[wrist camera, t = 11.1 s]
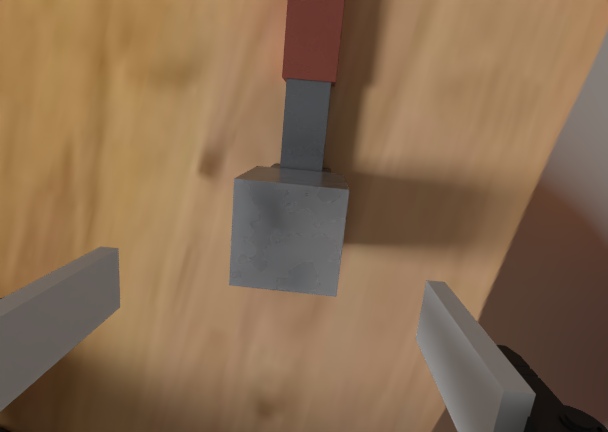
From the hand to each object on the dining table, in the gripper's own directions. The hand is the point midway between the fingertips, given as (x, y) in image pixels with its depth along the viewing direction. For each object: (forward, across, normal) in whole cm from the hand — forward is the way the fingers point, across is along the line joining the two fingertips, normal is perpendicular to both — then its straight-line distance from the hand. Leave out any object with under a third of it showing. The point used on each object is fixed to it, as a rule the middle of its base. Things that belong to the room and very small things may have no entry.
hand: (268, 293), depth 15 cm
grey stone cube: (+16, 0, 0) cm, 16 cm away
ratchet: (+19, 0, +9) cm, 20 cm away
